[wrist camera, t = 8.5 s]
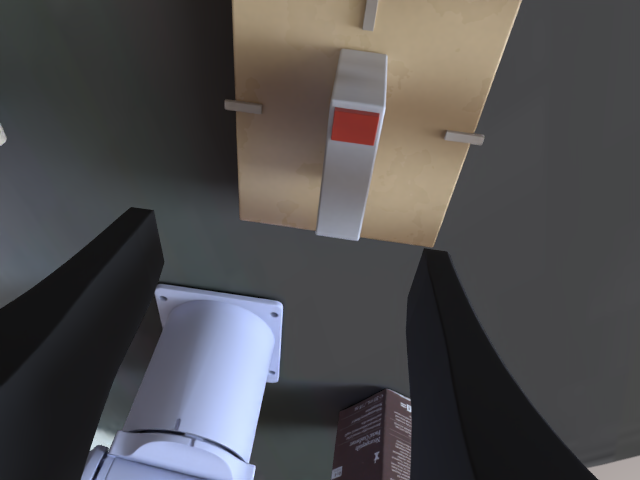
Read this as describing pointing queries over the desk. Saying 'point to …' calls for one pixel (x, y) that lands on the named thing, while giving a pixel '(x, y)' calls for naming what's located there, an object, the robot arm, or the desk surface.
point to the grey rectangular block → (351, 142)
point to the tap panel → (400, 114)
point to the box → (374, 439)
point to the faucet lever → (2, 136)
